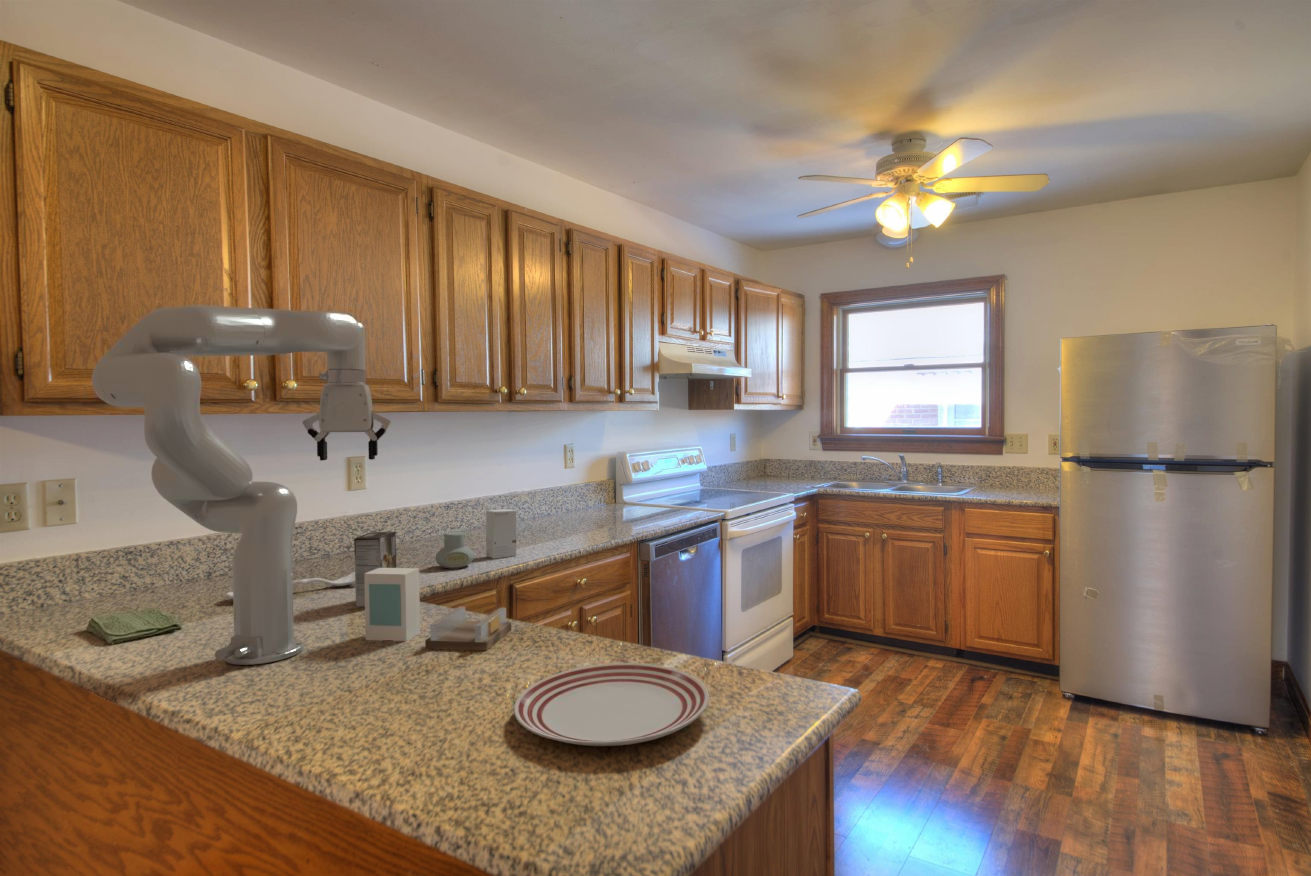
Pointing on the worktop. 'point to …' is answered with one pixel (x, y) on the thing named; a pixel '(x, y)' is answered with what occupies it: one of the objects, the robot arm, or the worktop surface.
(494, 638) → the napkin stand
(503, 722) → the worktop surface
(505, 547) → the skincare box
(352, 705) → the worktop surface
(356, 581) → the coffee box
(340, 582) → the spoon
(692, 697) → the dinner plate
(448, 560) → the air freshener
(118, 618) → the washcloth
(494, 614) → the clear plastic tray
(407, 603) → the carton
